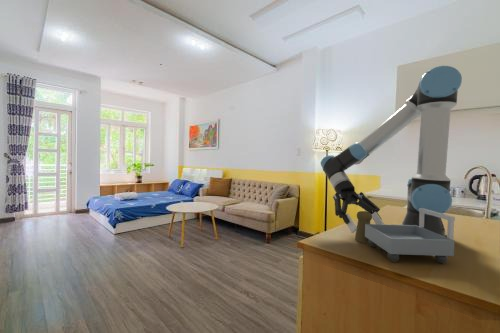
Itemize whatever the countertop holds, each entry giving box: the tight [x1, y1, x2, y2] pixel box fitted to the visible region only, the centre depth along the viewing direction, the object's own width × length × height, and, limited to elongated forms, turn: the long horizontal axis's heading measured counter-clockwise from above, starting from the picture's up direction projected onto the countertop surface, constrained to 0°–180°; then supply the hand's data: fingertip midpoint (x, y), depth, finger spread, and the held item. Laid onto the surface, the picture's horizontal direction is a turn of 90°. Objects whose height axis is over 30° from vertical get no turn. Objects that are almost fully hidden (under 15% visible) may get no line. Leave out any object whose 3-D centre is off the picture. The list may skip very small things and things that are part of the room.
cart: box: [365, 208, 456, 264], centre depth 75 cm, size 19×16×14 cm
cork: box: [354, 210, 373, 244], centre depth 88 cm, size 6×6×11 cm
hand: (369, 229), depth 86 cm, fingers open, 13 cm apart
